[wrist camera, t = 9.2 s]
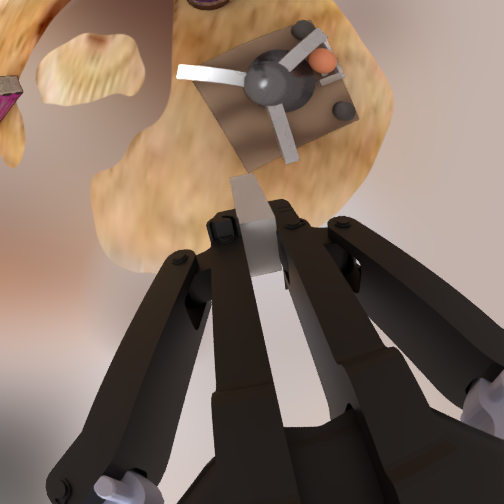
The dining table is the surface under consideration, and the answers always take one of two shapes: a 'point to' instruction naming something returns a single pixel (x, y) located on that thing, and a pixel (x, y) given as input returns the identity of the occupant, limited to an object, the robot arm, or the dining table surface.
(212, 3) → the mug
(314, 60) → the ball
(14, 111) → the dining table surface
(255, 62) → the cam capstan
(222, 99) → the walnut stand
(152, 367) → the robot arm
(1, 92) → the candy bar box
